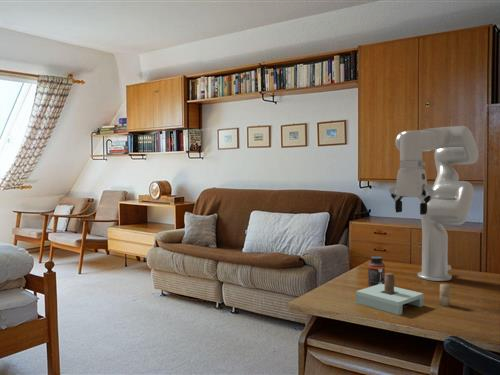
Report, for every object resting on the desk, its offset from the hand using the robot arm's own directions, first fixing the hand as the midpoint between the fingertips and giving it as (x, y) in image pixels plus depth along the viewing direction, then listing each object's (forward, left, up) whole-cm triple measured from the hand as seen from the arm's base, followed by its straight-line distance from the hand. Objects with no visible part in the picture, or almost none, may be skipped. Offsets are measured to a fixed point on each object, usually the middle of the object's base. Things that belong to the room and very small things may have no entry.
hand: (410, 213), depth 160 cm
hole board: (+19, +4, -28) cm, 34 cm away
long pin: (+19, +4, -28) cm, 34 cm away
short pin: (+6, -4, -28) cm, 29 cm away
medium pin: (+6, +16, -28) cm, 33 cm away
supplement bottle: (+5, -11, -28) cm, 31 cm away
